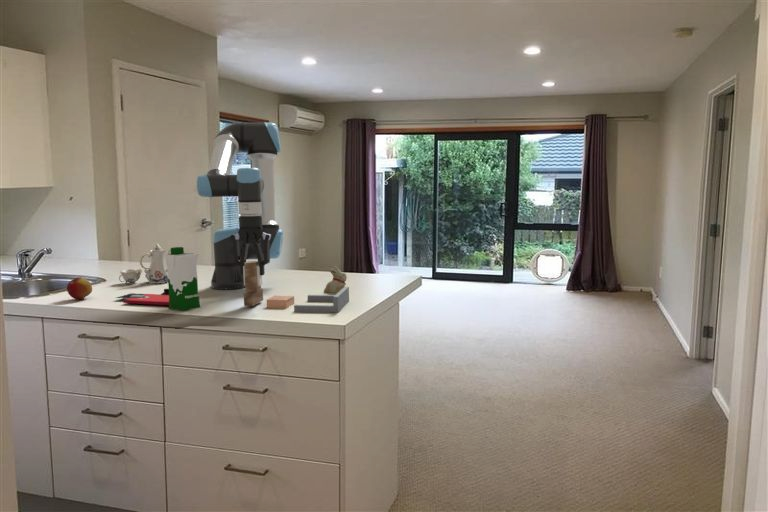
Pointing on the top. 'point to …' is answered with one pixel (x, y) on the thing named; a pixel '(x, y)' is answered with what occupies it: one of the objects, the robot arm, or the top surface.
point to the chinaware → (150, 268)
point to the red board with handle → (147, 298)
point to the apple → (79, 288)
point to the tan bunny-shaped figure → (336, 281)
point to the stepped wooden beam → (252, 284)
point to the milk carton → (182, 279)
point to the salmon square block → (280, 301)
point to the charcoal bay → (338, 300)
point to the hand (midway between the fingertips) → (253, 284)
